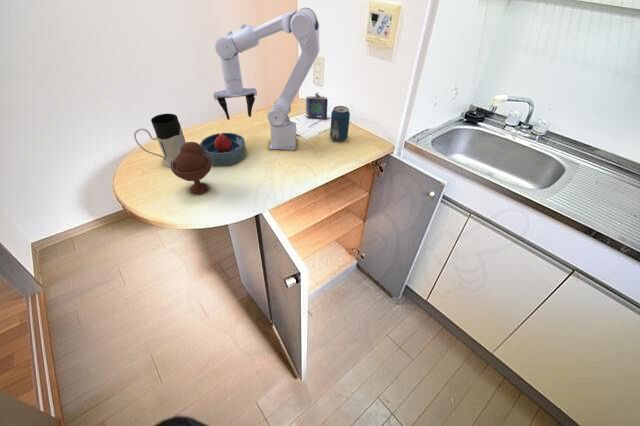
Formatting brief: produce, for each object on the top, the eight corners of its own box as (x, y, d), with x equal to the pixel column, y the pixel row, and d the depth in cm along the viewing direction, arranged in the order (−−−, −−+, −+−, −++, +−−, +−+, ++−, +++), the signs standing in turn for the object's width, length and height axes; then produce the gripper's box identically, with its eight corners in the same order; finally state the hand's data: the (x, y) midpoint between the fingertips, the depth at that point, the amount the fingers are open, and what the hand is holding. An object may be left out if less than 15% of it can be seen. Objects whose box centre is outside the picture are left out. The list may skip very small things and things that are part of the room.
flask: (305, 118, 128) (305, 93, 121) (306, 115, 131) (306, 91, 124) (326, 119, 128) (327, 95, 121) (327, 117, 130) (328, 92, 123)
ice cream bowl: (184, 179, 92) (170, 135, 82) (220, 178, 93) (210, 135, 83) (175, 200, 84) (157, 155, 74) (214, 199, 85) (202, 154, 75)
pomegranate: (235, 150, 105) (232, 129, 100) (230, 159, 101) (226, 137, 95) (220, 149, 105) (215, 128, 100) (214, 157, 101) (209, 136, 96)
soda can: (346, 134, 118) (349, 105, 110) (348, 143, 113) (351, 113, 105) (329, 134, 118) (331, 105, 110) (330, 142, 112) (332, 112, 104)
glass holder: (196, 161, 100) (183, 119, 90) (153, 176, 93) (134, 132, 83) (186, 151, 104) (173, 110, 94) (144, 164, 97) (125, 122, 87)
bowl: (250, 145, 109) (248, 133, 106) (242, 167, 98) (239, 154, 95) (210, 144, 109) (207, 132, 105) (197, 166, 98) (193, 153, 94)
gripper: (211, 83, 91) (220, 124, 100) (257, 79, 96) (261, 119, 105) (208, 76, 96) (217, 116, 105) (252, 72, 100) (256, 111, 110)
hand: (239, 117), depth 105 cm, fingers open, 7 cm apart
